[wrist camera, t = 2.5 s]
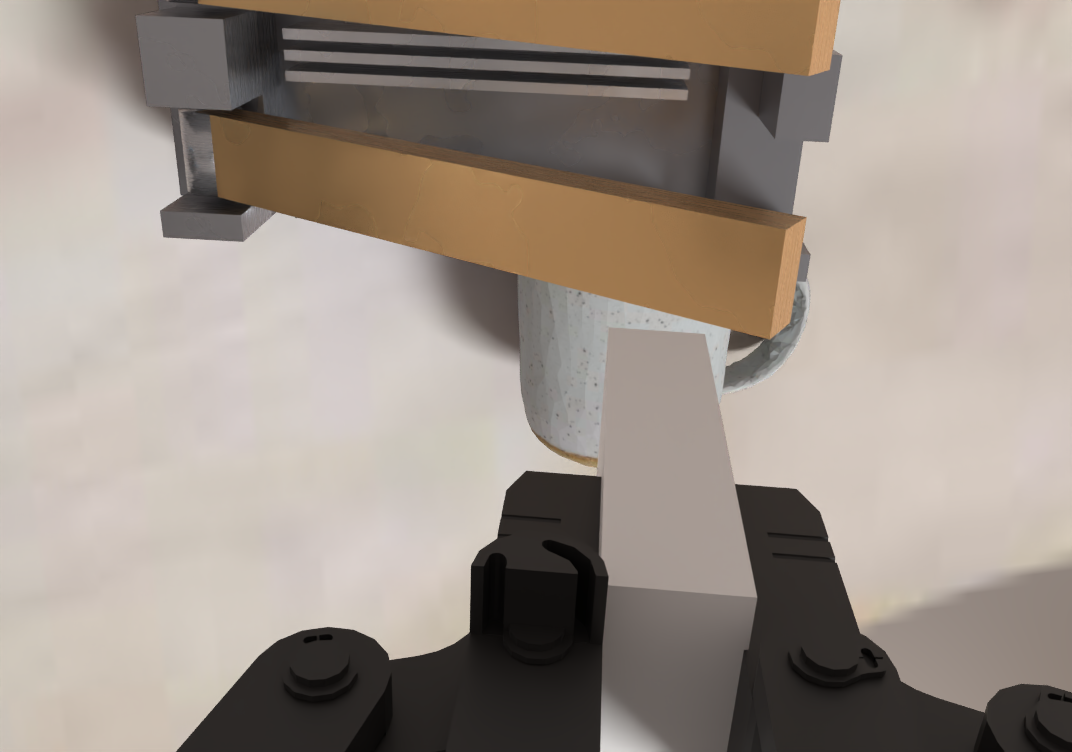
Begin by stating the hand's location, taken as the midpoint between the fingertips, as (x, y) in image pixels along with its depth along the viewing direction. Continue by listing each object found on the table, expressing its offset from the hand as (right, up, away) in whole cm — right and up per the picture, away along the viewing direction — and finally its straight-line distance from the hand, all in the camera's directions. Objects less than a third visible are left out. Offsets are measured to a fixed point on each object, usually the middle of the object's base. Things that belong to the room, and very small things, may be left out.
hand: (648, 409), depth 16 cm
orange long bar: (-4, +5, +10) cm, 12 cm away
